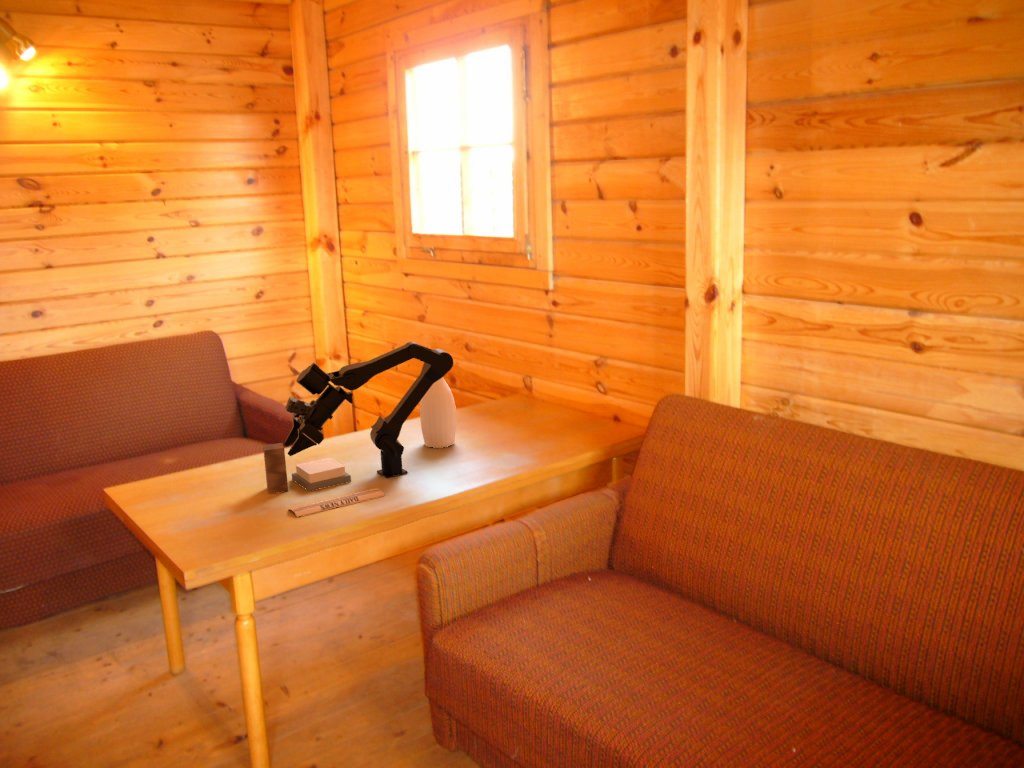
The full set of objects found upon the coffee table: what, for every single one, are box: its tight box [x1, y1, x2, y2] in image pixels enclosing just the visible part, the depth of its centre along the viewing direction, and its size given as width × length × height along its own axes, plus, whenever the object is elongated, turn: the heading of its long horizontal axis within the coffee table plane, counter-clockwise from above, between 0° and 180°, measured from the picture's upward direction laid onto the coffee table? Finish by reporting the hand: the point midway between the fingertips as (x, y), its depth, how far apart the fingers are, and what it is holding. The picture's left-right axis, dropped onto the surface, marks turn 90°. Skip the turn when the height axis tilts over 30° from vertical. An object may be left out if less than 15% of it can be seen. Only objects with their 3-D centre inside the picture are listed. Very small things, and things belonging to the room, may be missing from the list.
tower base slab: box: [291, 471, 352, 492], centre depth 242 cm, size 12×12×2 cm
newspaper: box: [287, 487, 385, 518], centre depth 224 cm, size 24×7×2 cm, turn 124°
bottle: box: [419, 376, 457, 449], centre depth 269 cm, size 11×11×25 cm
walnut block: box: [262, 442, 289, 495], centre depth 235 cm, size 5×5×12 cm
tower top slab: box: [295, 457, 346, 483], centre depth 241 cm, size 10×10×2 cm
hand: (287, 450), depth 235 cm, fingers open, 9 cm apart
